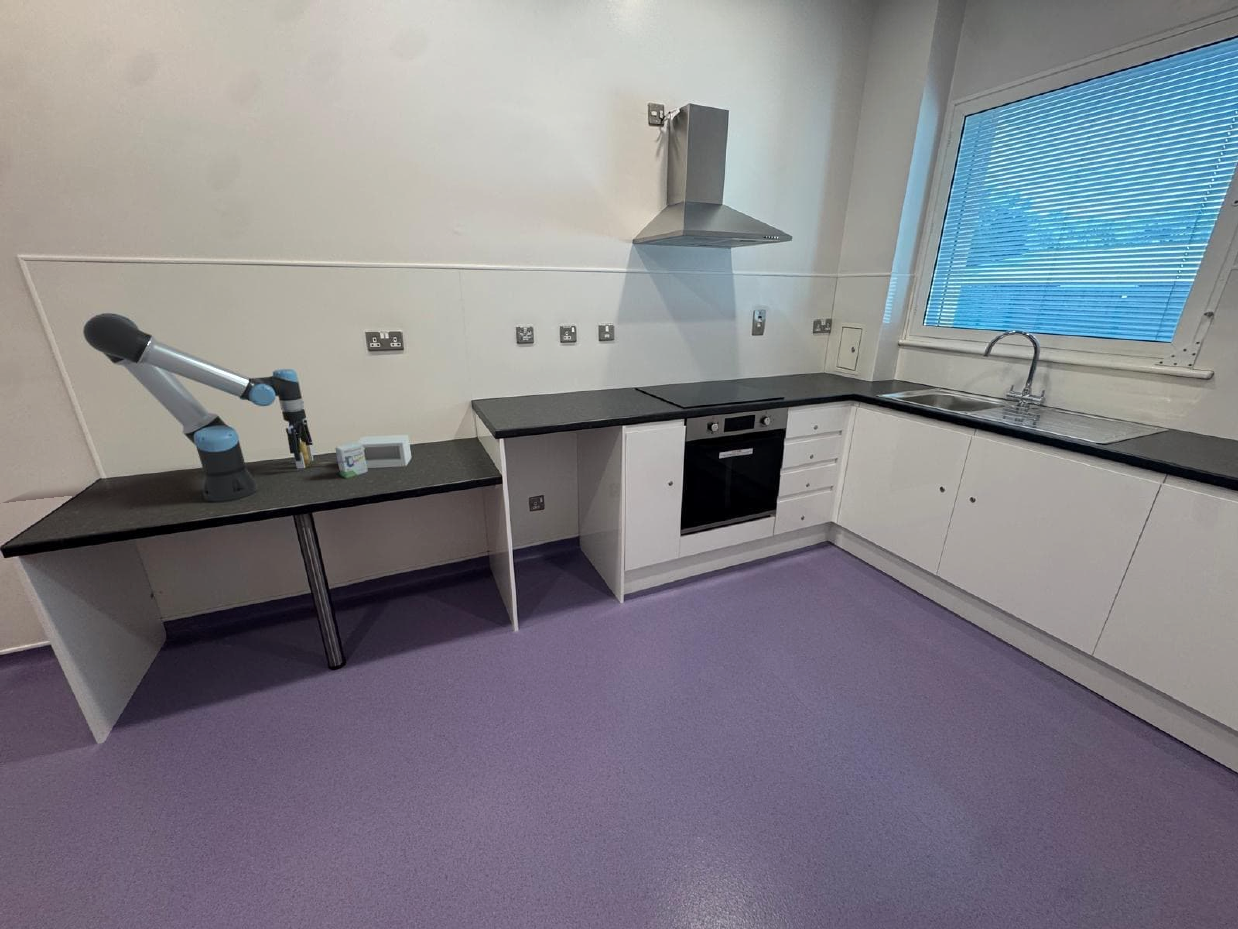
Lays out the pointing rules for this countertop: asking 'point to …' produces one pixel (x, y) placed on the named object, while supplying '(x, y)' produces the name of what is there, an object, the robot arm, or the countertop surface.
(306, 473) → the countertop surface
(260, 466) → the countertop surface
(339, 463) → the ink box
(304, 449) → the corded block
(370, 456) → the box
